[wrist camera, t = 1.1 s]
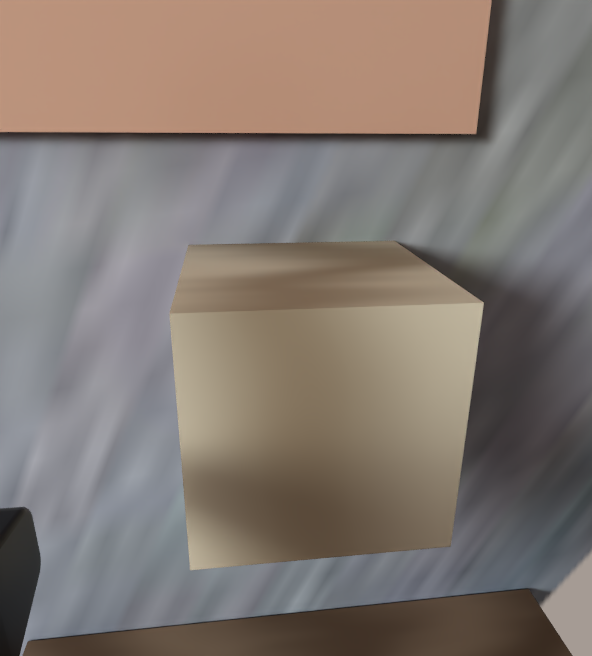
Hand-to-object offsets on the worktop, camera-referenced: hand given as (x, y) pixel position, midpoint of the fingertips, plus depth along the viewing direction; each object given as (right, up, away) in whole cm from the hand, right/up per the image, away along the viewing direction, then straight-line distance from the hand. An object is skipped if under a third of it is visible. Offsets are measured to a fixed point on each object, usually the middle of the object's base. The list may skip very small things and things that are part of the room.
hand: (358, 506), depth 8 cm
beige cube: (-1, +2, +6) cm, 7 cm away
